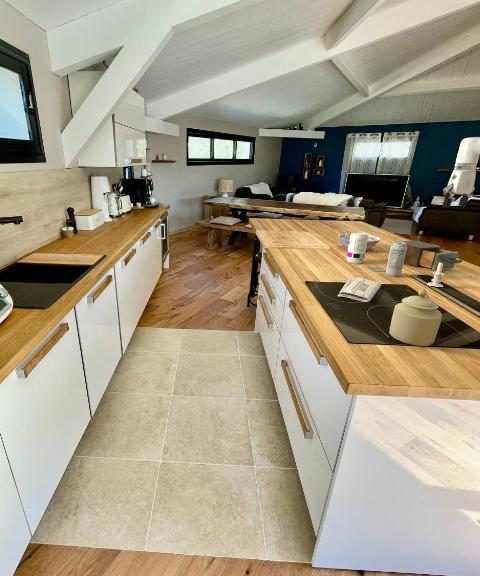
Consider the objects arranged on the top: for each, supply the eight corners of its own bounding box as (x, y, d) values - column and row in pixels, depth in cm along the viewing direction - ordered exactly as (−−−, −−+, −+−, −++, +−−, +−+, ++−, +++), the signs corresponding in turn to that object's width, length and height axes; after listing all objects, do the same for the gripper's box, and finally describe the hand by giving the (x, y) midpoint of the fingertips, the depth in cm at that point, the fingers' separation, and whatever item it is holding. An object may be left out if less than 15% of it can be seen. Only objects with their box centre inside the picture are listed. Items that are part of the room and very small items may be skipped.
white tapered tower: (434, 283, 132) (440, 259, 128) (446, 287, 127) (453, 262, 123) (424, 284, 131) (430, 260, 127) (435, 288, 126) (442, 263, 122)
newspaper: (349, 280, 137) (350, 275, 136) (380, 288, 130) (382, 283, 129) (333, 295, 120) (335, 289, 119) (367, 306, 113) (369, 299, 112)
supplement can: (343, 262, 163) (347, 233, 158) (349, 259, 168) (354, 231, 163) (359, 265, 158) (364, 235, 152) (365, 262, 163) (371, 233, 157)
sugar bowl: (380, 320, 101) (390, 276, 95) (420, 324, 98) (432, 279, 92) (395, 343, 87) (408, 293, 82) (441, 349, 84) (457, 297, 79)
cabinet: (436, 265, 156) (441, 246, 153) (415, 267, 153) (420, 248, 150) (410, 257, 169) (414, 240, 166) (391, 259, 166) (395, 241, 163)
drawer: (463, 271, 143) (468, 254, 141) (444, 273, 141) (449, 256, 138) (426, 260, 160) (430, 245, 157) (408, 262, 157) (412, 247, 155)
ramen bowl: (377, 256, 173) (379, 241, 170) (332, 251, 184) (334, 237, 182) (379, 247, 193) (381, 233, 190) (339, 243, 204) (341, 230, 201)
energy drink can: (402, 275, 142) (409, 242, 137) (398, 278, 138) (406, 244, 133) (387, 272, 146) (394, 240, 141) (383, 275, 142) (390, 242, 137)
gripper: (458, 168, 135) (447, 208, 141) (488, 167, 139) (476, 206, 145) (441, 168, 142) (432, 206, 148) (470, 167, 146) (460, 205, 152)
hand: (454, 206), depth 147 cm, fingers open, 9 cm apart
